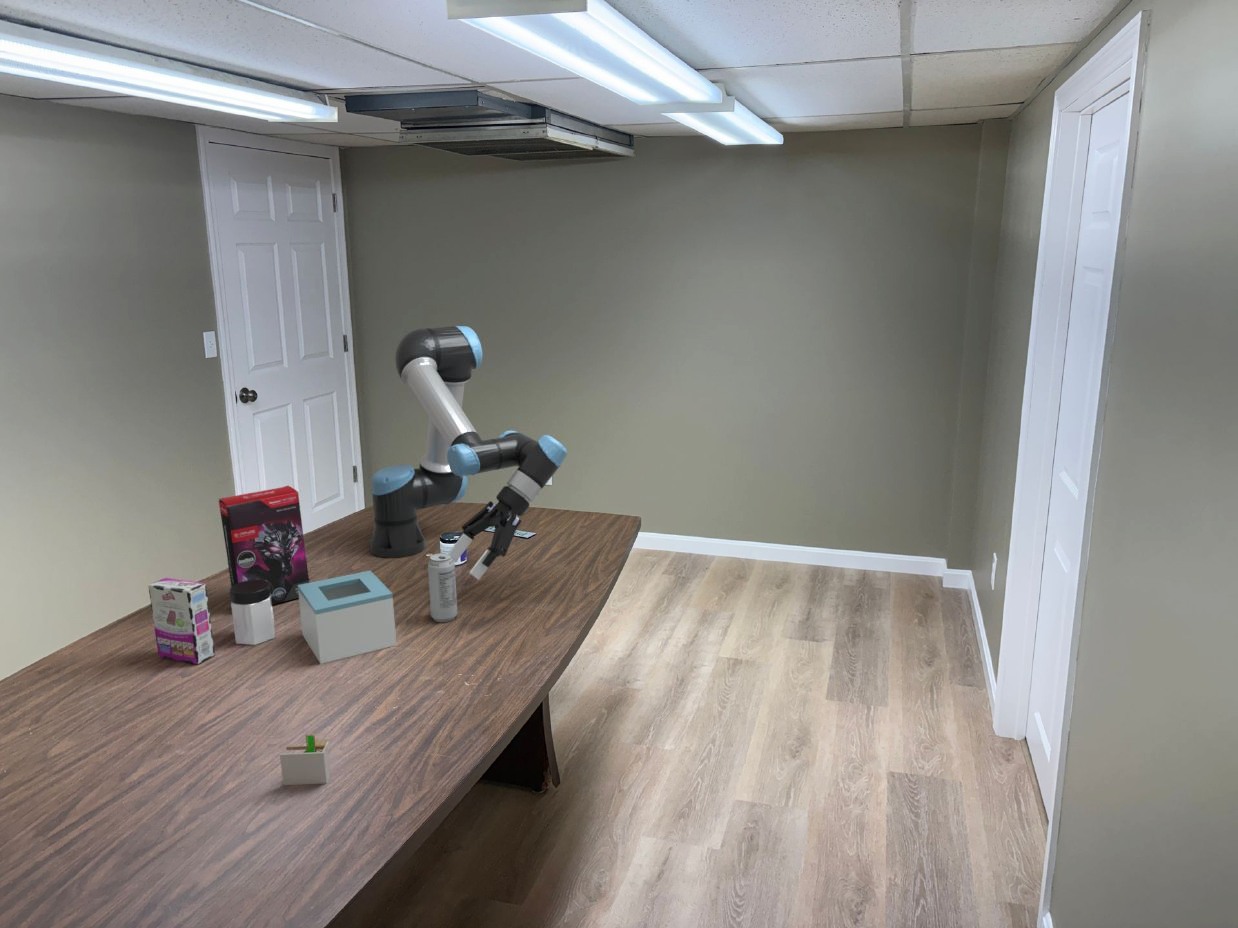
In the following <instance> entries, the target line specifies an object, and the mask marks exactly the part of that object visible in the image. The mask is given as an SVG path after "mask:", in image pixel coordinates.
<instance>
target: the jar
mask: <svg viewBox="0 0 1238 928" xmlns="http://www.w3.org/2000/svg"><path fill="white" fill-rule="evenodd" d="M229 594H230V601H231V603H230V606H231V615H232V621H233V631H234V638H235V639H234V640H235V644H237V645H250V646H256V645H259V644H262V643H265V642H267V641H271V640H272V639H274V638H275V632H276V631H275V630H276V629H275V620H274V619H275V618H274V609H273V605H272V601H271V588H270V584H269V582H267V581H264V580H249V581H244V582H240V583H237V584H235V585H233V586H232V587H231V586H230V588H229Z"/></svg>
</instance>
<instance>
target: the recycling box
mask: <svg viewBox="0 0 1238 928" xmlns="http://www.w3.org/2000/svg"><path fill="white" fill-rule="evenodd" d="M298 593H299V598H298V602H299V603H298V604H299V611H300V612H299V613H300V620H301V629H302V632H301V633H302V637H303V638H304V640H305V641H306V642H307V644H308V646H309V648H310V649H311V651H312V652H313V655H314V656H315V657H316V658H317V660H318V662H319V664H320V665H323V664H326V663H330V662H334V661H339V660H343V659H347V658H351V657H355V656H359V655H362V654H363V655H364V654H367V653H371V652H375V651H379V650H383V649H386V648H387V649H388V648H391V647H395V646H397V637H396V625H395V609H394V598H393V597H394V596H393V592H392V591H391V590H389V588H388V587H387V586H386V585H385V584H384V583H383V582H382V581H381V580H380V579H379V578H378V577H377V576H376V574H374V573H373V571H371V570H367V571H362V572H357V573H352V574H351V573H350V574H348V575H347V574H346V575H340V576H336V577H331V578H327V579H322V580H317V581H311V582H309V583H306V584H301V585H298Z"/></svg>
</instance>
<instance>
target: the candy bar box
mask: <svg viewBox="0 0 1238 928" xmlns="http://www.w3.org/2000/svg"><path fill="white" fill-rule="evenodd" d="M147 586H148V592H149V601H150V605H151V611H152V621H153V626H154V634H155V641H156V647H157V648H156V649H157V653H158V658H163V659H168V660H172V661H179V662H183V663H188V664H193V665H199V664H201V663H204V662H205V661H207V660H210V659H212V658H213V657H214V656H216V653H215V645H214V637H213V629H212V621H211V615H210V613H211V612H210V605H209V598H208V591H207V583H206V582H205V583H204V582H197V581H190V580H183V579H176V578H170V577H165V578H162V579H160V580H157V581H155V582H153V583H150V584H147Z"/></svg>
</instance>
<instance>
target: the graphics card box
mask: <svg viewBox="0 0 1238 928" xmlns="http://www.w3.org/2000/svg"><path fill="white" fill-rule="evenodd" d="M218 507H219V513H220V517H221V518H220V519H221V525H222V526H221V527H222V531H223V537H224V538H223V539H224V544H225V551H226V557H227V565H228V572H229V573H228V574H229V580H230V588H231V587H232V586H233V585H235V584H237V583H240V582H244V581H249V580H264V581H267V582H269V584H270V588H271V601H272V606H273V605H277V604H281V603H285V602H287V601H288V602H289V601H293V600H295V599H299V593H298V585H301V584H306V583H310V578H309V570H308V562H307V555H306V545H305V539H304V538H305V537H304V529H303V520H302V514H301V504H300V495H299V491H297V490H296V489H295V488H294V487H292V486H290V485H285V486H282V487H278V488H271V489H267V490H259V491H254V492H249V493H243V494H238V495H233V496H228V497H222V498H219V499H218Z"/></svg>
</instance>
